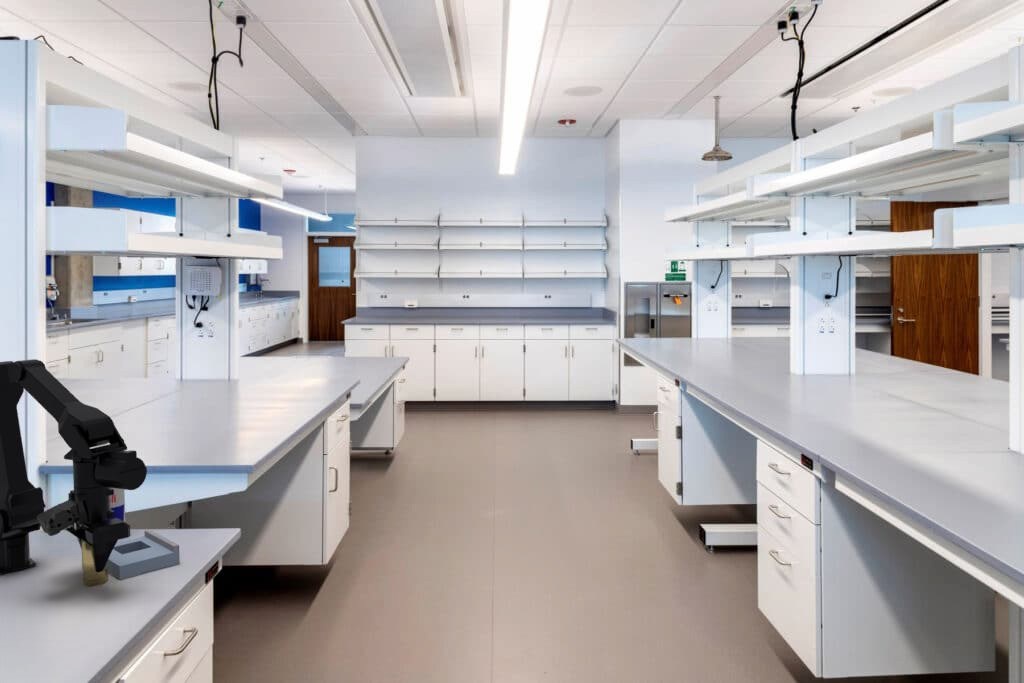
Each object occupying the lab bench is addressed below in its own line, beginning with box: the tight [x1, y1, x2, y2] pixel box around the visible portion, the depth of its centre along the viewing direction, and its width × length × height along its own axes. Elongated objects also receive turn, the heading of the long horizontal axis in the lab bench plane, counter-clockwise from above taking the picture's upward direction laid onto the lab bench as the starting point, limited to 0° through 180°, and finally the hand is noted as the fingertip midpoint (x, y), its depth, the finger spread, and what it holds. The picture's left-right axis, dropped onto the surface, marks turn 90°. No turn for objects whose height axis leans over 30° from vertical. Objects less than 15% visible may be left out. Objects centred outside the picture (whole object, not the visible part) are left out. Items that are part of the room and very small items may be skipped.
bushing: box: [81, 541, 109, 588], centre depth 137 cm, size 4×4×8 cm
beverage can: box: [107, 488, 127, 523], centre depth 163 cm, size 6×6×15 cm
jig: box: [107, 529, 181, 580], centre depth 148 cm, size 14×11×4 cm
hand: (94, 568), depth 137 cm, fingers closed on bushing, 4 cm apart
